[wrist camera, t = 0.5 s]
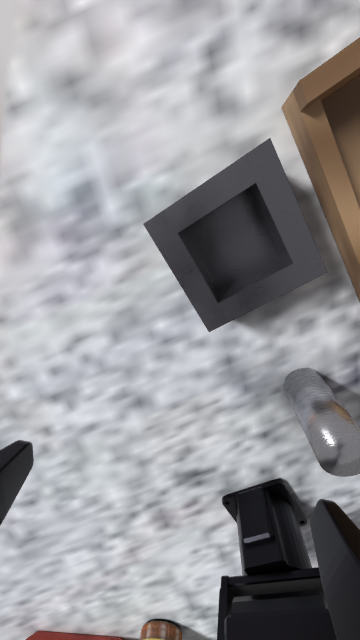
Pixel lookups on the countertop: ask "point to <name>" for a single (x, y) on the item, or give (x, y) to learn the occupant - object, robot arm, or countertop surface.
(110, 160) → the countertop surface
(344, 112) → the bay
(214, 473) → the countertop surface
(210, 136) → the countertop surface
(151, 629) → the sauce bottle
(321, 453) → the rounded metal peg
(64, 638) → the plant saucer
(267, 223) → the square hollow tube
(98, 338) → the countertop surface
